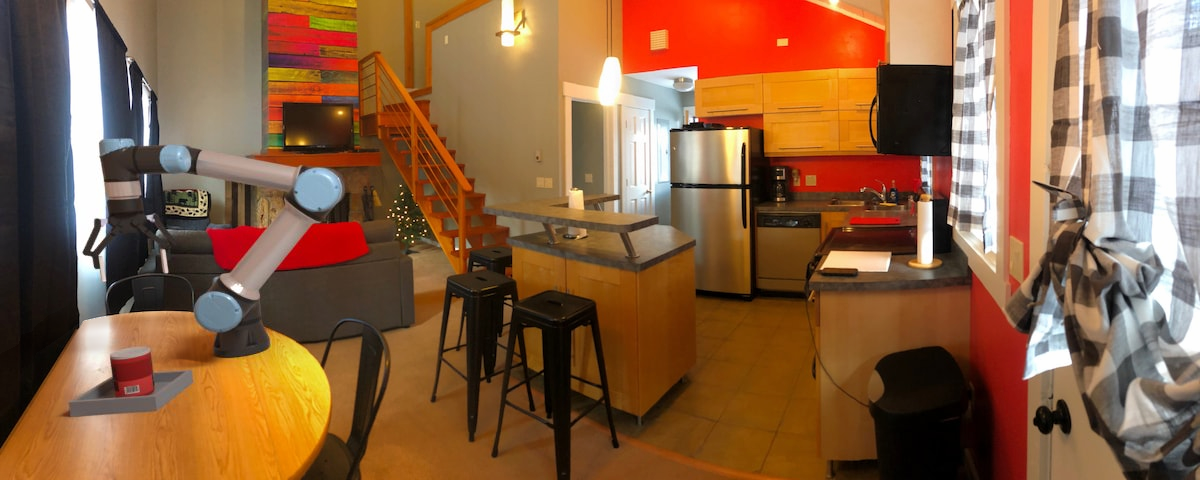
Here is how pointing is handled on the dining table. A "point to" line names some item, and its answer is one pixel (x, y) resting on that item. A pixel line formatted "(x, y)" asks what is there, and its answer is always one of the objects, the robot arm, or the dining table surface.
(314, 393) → the dining table surface
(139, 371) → the canned food
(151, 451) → the dining table surface
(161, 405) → the tray
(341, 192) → the robot arm
